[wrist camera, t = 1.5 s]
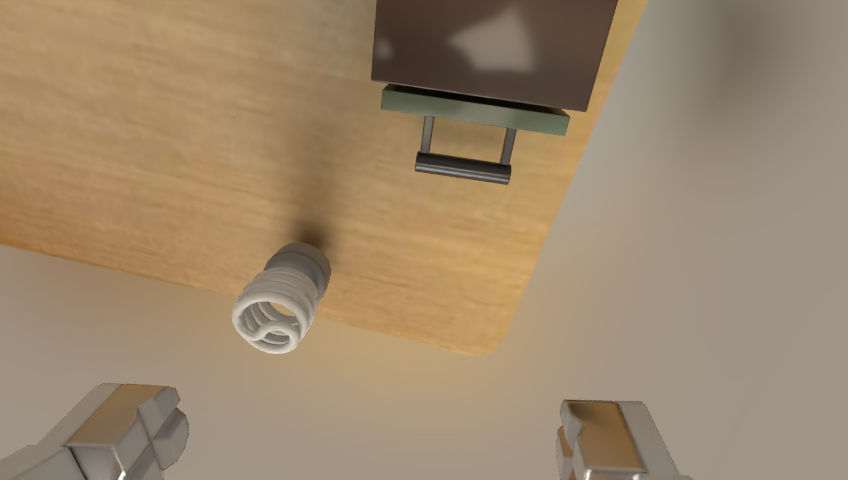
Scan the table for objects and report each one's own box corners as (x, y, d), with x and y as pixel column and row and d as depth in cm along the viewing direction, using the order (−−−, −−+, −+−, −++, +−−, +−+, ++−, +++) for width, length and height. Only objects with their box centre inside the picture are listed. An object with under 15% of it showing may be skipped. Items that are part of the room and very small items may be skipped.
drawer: (531, 167, 36) (547, 201, 29) (390, 147, 36) (375, 175, 30) (603, -126, 28) (647, -170, 21) (419, -152, 28) (407, -205, 21)
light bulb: (280, 273, 43) (221, 358, 32) (282, 221, 41) (219, 294, 30) (338, 284, 43) (298, 372, 32) (344, 232, 41) (302, 309, 30)
